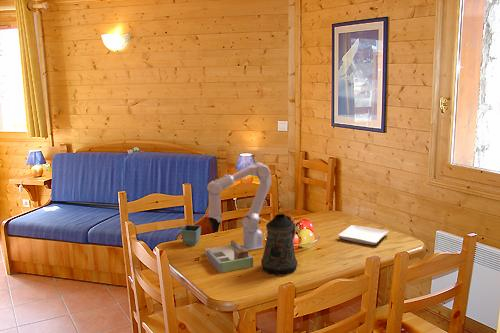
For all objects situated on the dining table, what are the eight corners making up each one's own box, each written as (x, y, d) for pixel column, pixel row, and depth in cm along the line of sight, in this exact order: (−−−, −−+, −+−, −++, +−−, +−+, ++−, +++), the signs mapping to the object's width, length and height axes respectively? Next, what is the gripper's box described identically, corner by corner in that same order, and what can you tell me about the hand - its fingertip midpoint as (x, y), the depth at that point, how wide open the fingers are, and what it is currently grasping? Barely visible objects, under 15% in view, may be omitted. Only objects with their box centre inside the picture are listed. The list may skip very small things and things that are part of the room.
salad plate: (389, 236, 264) (389, 230, 263) (376, 248, 247) (376, 242, 246) (351, 229, 275) (351, 224, 275) (337, 241, 258) (337, 235, 257)
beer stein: (259, 275, 217) (258, 221, 212) (264, 258, 235) (263, 208, 230) (296, 276, 214) (296, 222, 209) (298, 259, 233) (298, 209, 228)
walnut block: (244, 257, 230) (243, 247, 229) (248, 261, 226) (248, 251, 225) (234, 259, 228) (234, 249, 227) (238, 263, 224) (238, 252, 223)
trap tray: (233, 248, 249) (232, 240, 248) (253, 266, 226) (252, 257, 225) (202, 254, 242) (202, 245, 241) (219, 272, 219) (219, 263, 219)
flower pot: (197, 247, 251) (196, 231, 249) (180, 246, 253) (180, 230, 251) (202, 241, 260) (201, 225, 258) (186, 240, 261) (185, 224, 260)
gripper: (202, 203, 245) (203, 228, 248) (211, 210, 232) (212, 237, 235) (215, 201, 248) (216, 226, 251) (225, 208, 235) (226, 235, 238)
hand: (215, 232), depth 243 cm, fingers closed
